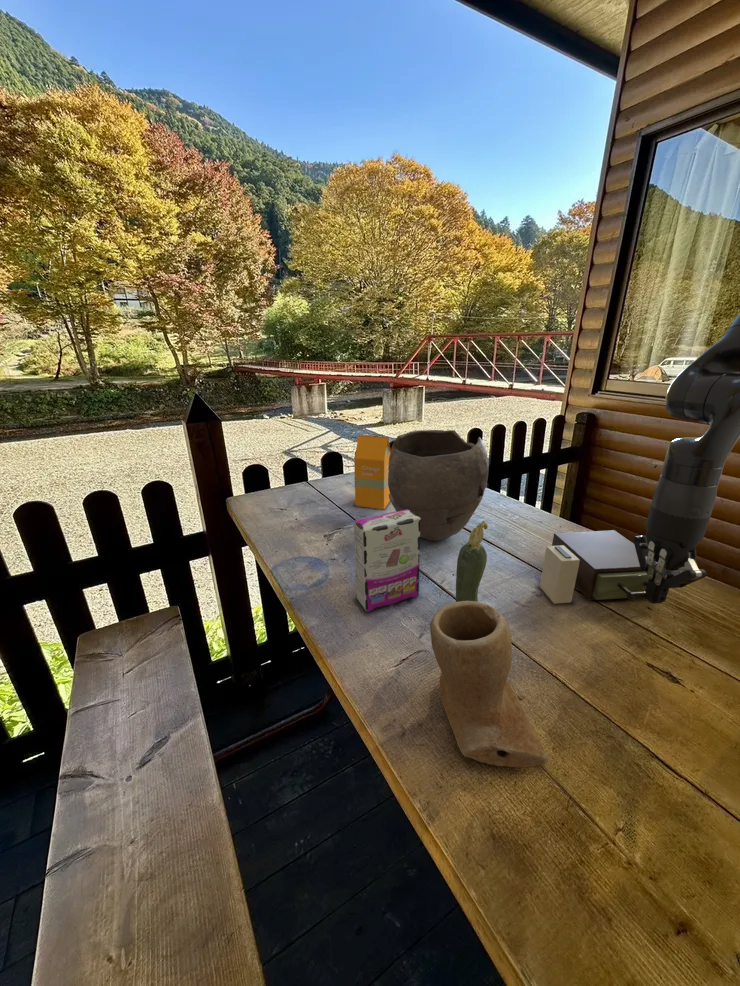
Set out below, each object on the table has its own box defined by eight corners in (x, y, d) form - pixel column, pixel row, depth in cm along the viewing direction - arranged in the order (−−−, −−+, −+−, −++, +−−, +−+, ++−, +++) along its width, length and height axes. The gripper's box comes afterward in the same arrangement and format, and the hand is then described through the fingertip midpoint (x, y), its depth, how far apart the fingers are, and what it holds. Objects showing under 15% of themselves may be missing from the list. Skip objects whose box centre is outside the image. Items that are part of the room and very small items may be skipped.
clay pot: (490, 526, 105) (501, 430, 96) (466, 571, 85) (476, 456, 76) (404, 510, 116) (407, 422, 107) (365, 546, 96) (363, 442, 87)
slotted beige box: (556, 585, 80) (563, 543, 77) (571, 602, 75) (580, 558, 72) (539, 586, 80) (546, 544, 77) (553, 603, 75) (562, 559, 72)
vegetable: (451, 635, 67) (460, 525, 60) (452, 619, 71) (461, 514, 64) (478, 639, 66) (491, 528, 59) (478, 622, 70) (490, 516, 63)
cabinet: (656, 595, 77) (665, 565, 75) (588, 599, 76) (595, 569, 74) (608, 556, 91) (614, 530, 88) (549, 559, 90) (553, 532, 87)
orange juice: (384, 509, 116) (384, 440, 109) (354, 505, 119) (353, 438, 112) (391, 499, 123) (392, 434, 116) (363, 496, 126) (362, 432, 118)
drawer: (678, 610, 72) (685, 586, 70) (611, 614, 71) (616, 591, 69) (613, 558, 88) (618, 539, 86) (558, 561, 87) (561, 541, 85)
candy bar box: (405, 583, 81) (408, 507, 76) (419, 597, 77) (422, 517, 71) (354, 598, 77) (352, 519, 71) (365, 613, 73) (364, 530, 67)
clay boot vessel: (418, 676, 59) (422, 588, 54) (498, 671, 60) (510, 584, 55) (444, 782, 45) (453, 678, 40) (548, 774, 46) (571, 671, 41)
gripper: (743, 523, 57) (707, 624, 63) (669, 490, 70) (646, 578, 76) (693, 526, 57) (662, 628, 63) (628, 492, 69) (607, 580, 75)
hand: (653, 600), depth 69 cm, fingers closed
